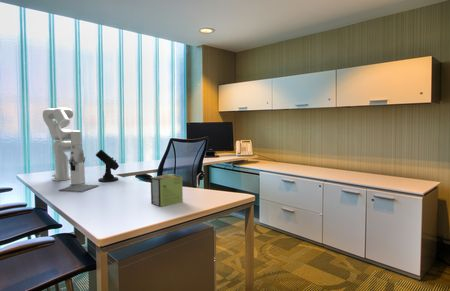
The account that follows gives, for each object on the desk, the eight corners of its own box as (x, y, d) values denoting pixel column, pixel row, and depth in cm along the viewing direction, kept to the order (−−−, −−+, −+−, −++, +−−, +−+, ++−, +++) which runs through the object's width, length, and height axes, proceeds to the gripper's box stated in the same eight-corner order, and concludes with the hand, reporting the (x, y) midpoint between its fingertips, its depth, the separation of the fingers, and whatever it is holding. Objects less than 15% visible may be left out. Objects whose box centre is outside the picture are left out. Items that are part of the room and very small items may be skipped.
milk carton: (85, 182, 229) (84, 158, 227) (79, 184, 222) (78, 159, 220) (76, 182, 230) (75, 158, 228) (70, 184, 223) (69, 159, 221)
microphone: (96, 179, 242) (95, 149, 239) (118, 177, 249) (117, 148, 247) (96, 183, 228) (95, 150, 226) (120, 181, 235) (119, 149, 233)
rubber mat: (58, 190, 203) (58, 189, 203) (77, 185, 220) (76, 184, 220) (81, 192, 199) (81, 191, 199) (98, 186, 217) (98, 185, 217)
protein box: (183, 201, 176) (182, 175, 174) (160, 207, 165) (159, 179, 164) (172, 198, 183) (172, 173, 182) (150, 203, 172) (150, 177, 171)
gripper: (72, 148, 214) (74, 171, 216) (88, 146, 231) (89, 167, 232) (63, 148, 216) (65, 171, 217) (79, 146, 233) (81, 167, 234)
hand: (77, 169), depth 225 cm, fingers open, 9 cm apart
